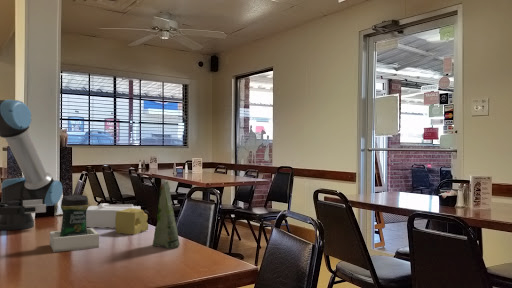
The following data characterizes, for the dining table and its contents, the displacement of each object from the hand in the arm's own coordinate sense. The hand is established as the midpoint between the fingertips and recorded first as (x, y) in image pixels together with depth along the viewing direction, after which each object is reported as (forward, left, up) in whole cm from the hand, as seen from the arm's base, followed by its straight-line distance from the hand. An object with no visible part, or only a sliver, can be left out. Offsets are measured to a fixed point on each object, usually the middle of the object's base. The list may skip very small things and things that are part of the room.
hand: (44, 205), depth 150 cm
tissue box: (-37, +32, -17) cm, 52 cm away
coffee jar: (+1, +10, -15) cm, 19 cm away
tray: (+1, +10, -16) cm, 19 cm away
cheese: (-15, +36, -16) cm, 43 cm away
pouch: (+18, +40, -16) cm, 47 cm away
